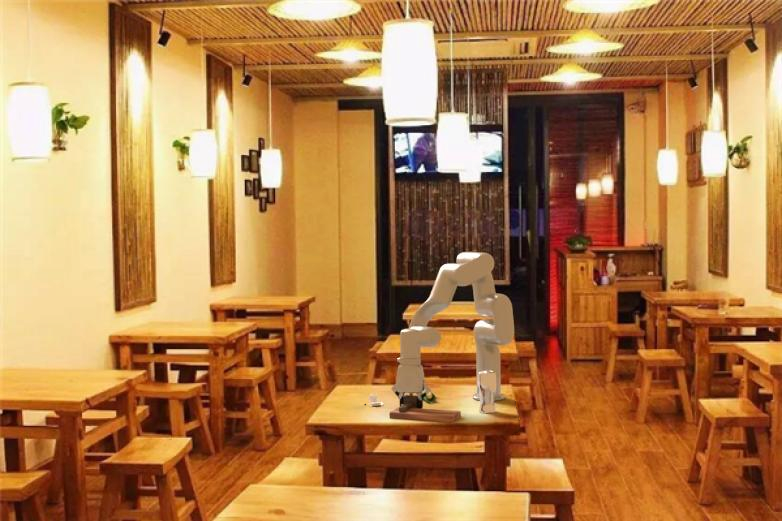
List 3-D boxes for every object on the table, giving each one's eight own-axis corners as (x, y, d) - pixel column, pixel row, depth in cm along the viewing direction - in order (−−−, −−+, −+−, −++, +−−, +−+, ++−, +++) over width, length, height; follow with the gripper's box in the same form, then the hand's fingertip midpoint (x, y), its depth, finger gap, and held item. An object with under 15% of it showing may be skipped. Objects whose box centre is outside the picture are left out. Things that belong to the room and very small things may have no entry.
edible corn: (427, 394, 398) (427, 383, 398) (438, 404, 378) (438, 393, 378) (415, 395, 397) (415, 384, 397) (425, 405, 377) (425, 393, 377)
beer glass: (478, 413, 360) (477, 373, 359) (477, 409, 367) (477, 370, 366) (497, 413, 360) (496, 373, 359) (496, 409, 366) (495, 370, 366)
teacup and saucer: (380, 408, 375) (380, 397, 374) (360, 407, 376) (360, 396, 376) (385, 403, 383) (385, 393, 383) (365, 402, 385) (365, 392, 385)
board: (399, 412, 364) (399, 407, 364) (460, 416, 355) (460, 411, 355) (389, 417, 355) (389, 412, 355) (452, 422, 346) (452, 416, 346)
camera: (406, 410, 367) (406, 392, 367) (419, 411, 365) (418, 393, 365) (395, 417, 356) (394, 398, 355) (408, 418, 354) (407, 399, 354)
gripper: (385, 362, 363) (386, 410, 364) (429, 364, 357) (429, 413, 358) (392, 359, 370) (393, 406, 371) (435, 361, 364) (436, 408, 365)
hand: (411, 409), depth 365 cm, fingers open, 6 cm apart
